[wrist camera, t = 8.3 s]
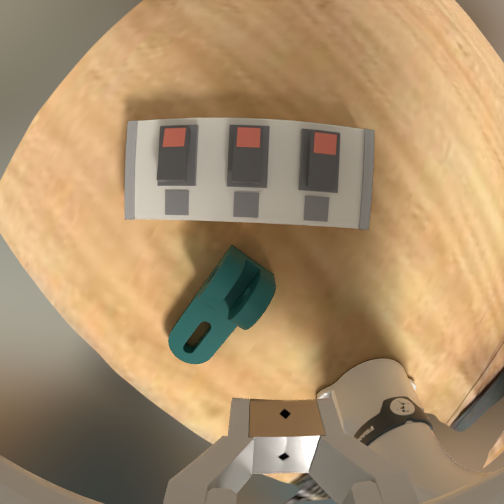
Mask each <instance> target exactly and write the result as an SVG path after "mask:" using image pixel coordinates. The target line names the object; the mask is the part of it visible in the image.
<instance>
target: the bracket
mask: <svg viewBox="0 0 504 504" xmlns="http://www.w3.org/2000/svg"><path fill="white" fill-rule="evenodd" d="M275 290H276V284H275V279H274V274H272V273H271V272H270V271H268V270H267V269H265V268H264V267H262V266H261V265H260V264H258V263H257V262H255V261H254V260H252V259H251V258H250V257H248V256H247V255H245V254H244V253H243V252H241V251H240V250H238V249H237V248H235V247H234V246H233V245H231V247H230V248H229V250H228V251H227V252H226V254H225V255H224V257H223V258H222V259H221V261H220V262H219V263H218V265H217V266H216V268H215V269H214V270H213V272H212V273H211V275H210V276H209V277H208V279H207V280H206V282H205V283H204V284H203V286H202V287H201V289H200V290H199V291H198V293H197V294H196V296H195V297H194V298H193V300H192V301H191V303H190V304H189V306H188V307H187V308H186V310H185V311H184V313H183V314H182V315H181V317H180V318H179V320H178V321H177V323H176V324H175V326H174V327H173V329H172V331H171V333H170V335H169V340H168V342H169V347H170V349H171V351H172V353H173V354H174V355H175V356H176V357H177V358H178V359H180V360H182V361H184V362H186V363H190V364H201V363H204V362H206V361H208V360H209V359H210V358H211V357H212V356H213V355H214V354H215V352H216V351H217V350H218V349H219V348H220V346H221V345H222V344H223V343H224V342H225V340H226V339H227V338H228V337H229V335H230V334H231V333H232V332H233V331H234V329H235V328H236V327H237V326H239V327H240V328H242V329H244V330H247V329H249V328H250V327H252V326H253V325H254V324H255V323H256V322H257V321H258V319H259V318H260V317H261V316H262V314H263V313H264V312H265V310H266V309H267V307H268V305H269V304H270V302H271V300H272V298H273V296H274V293H275ZM201 322H208V323H209V324H210V325H211V326H210V327H209V329H208V330H207V331H206V333H205V334H204V335H203V336H202V338H201V339H200V340H199V342H198V343H197V344H196V345H195V346H189V345H188V344H187V343H186V342H187V340H188V339H189V338H190V336H191V335H192V334H193V332H194V331H195V330H196V328H197V327H198V326H199V324H200V323H201Z"/></svg>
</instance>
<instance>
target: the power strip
mask: <svg viewBox="0 0 504 504" xmlns="http://www.w3.org/2000/svg"><path fill="white" fill-rule="evenodd" d="M175 127H189V128H190V130H191V132H190V141H189V151H188V161H187V172H186V182H159V181H157V180H156V179H157V170H158V161H159V152H160V144H161V137H162V130H163V128H175ZM235 127H262V128H263V151H262V175H261V184H254V183H232V167H233V150H234V133H235ZM310 131H317V132H326V133H334V134H340V137H339V151H338V163H337V174H336V184H335V189H330V188H319V187H308V186H307V173H308V159H309V145H310ZM373 165H374V130H370V129H359V128H353V127H346V126H338V125H330V124H322V123H313V122H303V121H291V120H277V119H259V118H175V119H157V120H143V121H137V120H135V121H128V125H127V140H126V159H125V219H129V220H134V219H156V220H195V221H225V222H249V223H271V224H291V225H309V226H325V227H341V228H355V229H363V230H369V222H370V211H371V199H372V185H373Z"/></svg>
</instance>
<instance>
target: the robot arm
mask: <svg viewBox="0 0 504 504" xmlns="http://www.w3.org/2000/svg"><path fill="white" fill-rule="evenodd" d="M415 390H416V385H415V383H414V381H412V380H411V379H409V378H408V377H407V374H406V372H405V369H404V368H403V366H402V365H401V364H400V363H398V362H397V361H394V360H391V359H374V360H370V361H366V362H364V363H361V364H359V365H357V366H355V367H354V368H352V369H350V370H349V371H348V372H346V373H345V374H344V375H343V376H342V377H341V378H340V379H339V380H338V381H337V382H335V383H334V384H333V385H331V386H329V387H327V388H325V389H323V390H321V391H320V392H319V393H318V394H317V399H307V400H265V399H250V401H249V399H242V398H232V401H231V411H230V421H229V431H228V436H222V437H221V438H220V439H219V440H218V441H217V442H215V443H214V444H213V445H212V446H211V447H210V448H208V449H207V450H206V451H205V452H204V453H203V454H202V455H200V456H199V457H198V458H197V459H196V460H194V461H193V462H192V463H191V464H190V465H188V466H187V467H186V468H184V469H183V470H182V471H181V472H179V473H178V474H177V475H176V476H174V477H173V478H172V479H170V480H169V483H168V487H167V490H166V494H165V498H164V502H163V504H236V494H237V492H238V491H239V490H240V489H241V488H242V486H243V485H244V484H245V483H246V481H247V480H248V479H249V478H250V476H251V474H269V473H309V475H310V476H311V477H312V478H313V479H314V480H315V481H316V482H317V483H318V484H319V485H320V486H321V487H322V489H323V490H324V491H325V492H326V493H327V494H328V495H329V496H330V497H331V498H332V499H333V500H334V501H335V502H336V503H337V504H504V466H503V467H501V468H499V469H498V470H496V471H494V472H489V473H488V472H477V471H473V470H469V469H466V468H464V467H462V466H461V465H459V464H458V463H456V462H455V461H454V460H453V459H452V458H451V457H450V456H449V455H448V453H447V452H446V451H445V450H444V448H443V447H442V445H441V444H440V443H439V441H438V440H437V438H436V437H435V435H434V434H433V432H432V430H433V429H432V425H431V423H430V420H429V418H428V416H426V414H425V413H424V408H423V406H422V404H421V402H420V400H419V398H418V396H417V394H416V392H415ZM0 504H103V503H100V502H97V501H94V500H91V499H89V498H86V497H83V496H80V495H78V494H76V493H73V492H71V491H68V490H66V489H64V488H61V487H59V486H57V485H54V484H52V483H50V482H48V481H46V480H44V479H42V478H40V477H38V476H36V475H34V474H32V473H30V472H28V471H26V470H25V469H23V468H21V467H19V466H17V465H16V464H14V463H12V462H11V461H9V460H7V459H5V458H4V457H2V456H1V455H0Z"/></svg>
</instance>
